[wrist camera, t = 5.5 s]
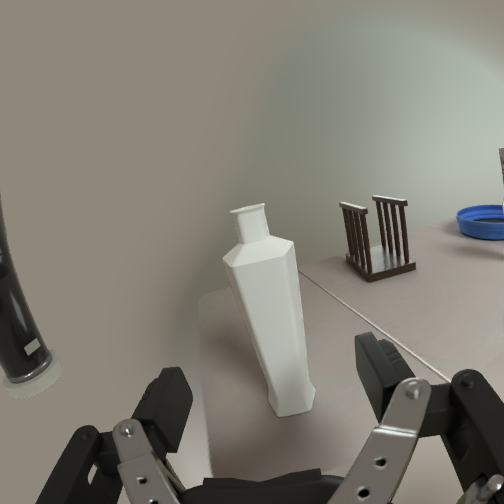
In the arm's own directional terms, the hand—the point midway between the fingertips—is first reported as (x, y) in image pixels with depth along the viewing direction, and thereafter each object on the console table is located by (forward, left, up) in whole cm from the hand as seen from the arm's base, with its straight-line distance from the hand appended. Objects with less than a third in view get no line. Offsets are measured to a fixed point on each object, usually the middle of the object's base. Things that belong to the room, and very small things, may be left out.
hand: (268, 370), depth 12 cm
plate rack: (+17, +31, -8) cm, 37 cm away
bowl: (+47, +32, -9) cm, 58 cm away
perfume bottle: (0, +6, -9) cm, 11 cm away
